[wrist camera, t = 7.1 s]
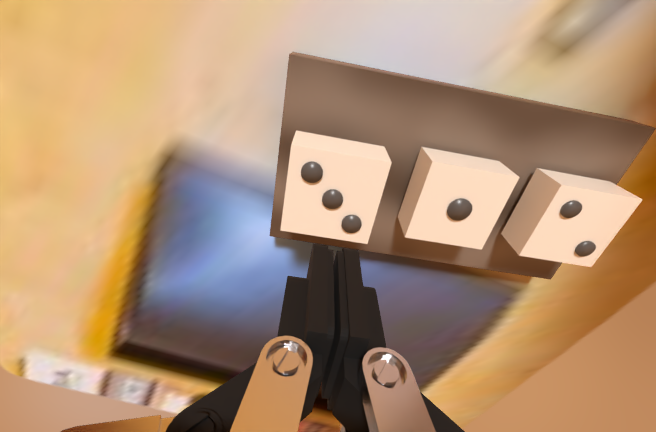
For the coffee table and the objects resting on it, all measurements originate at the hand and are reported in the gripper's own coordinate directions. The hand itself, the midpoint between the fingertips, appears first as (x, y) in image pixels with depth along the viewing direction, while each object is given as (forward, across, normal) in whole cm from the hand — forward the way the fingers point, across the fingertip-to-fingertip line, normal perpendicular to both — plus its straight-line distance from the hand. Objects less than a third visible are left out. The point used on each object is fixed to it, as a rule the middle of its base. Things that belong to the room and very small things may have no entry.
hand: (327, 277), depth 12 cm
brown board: (+12, -8, 0) cm, 14 cm away
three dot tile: (+8, 0, 0) cm, 8 cm away
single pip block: (+10, -8, -1) cm, 12 cm away
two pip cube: (+10, -15, -1) cm, 18 cm away
